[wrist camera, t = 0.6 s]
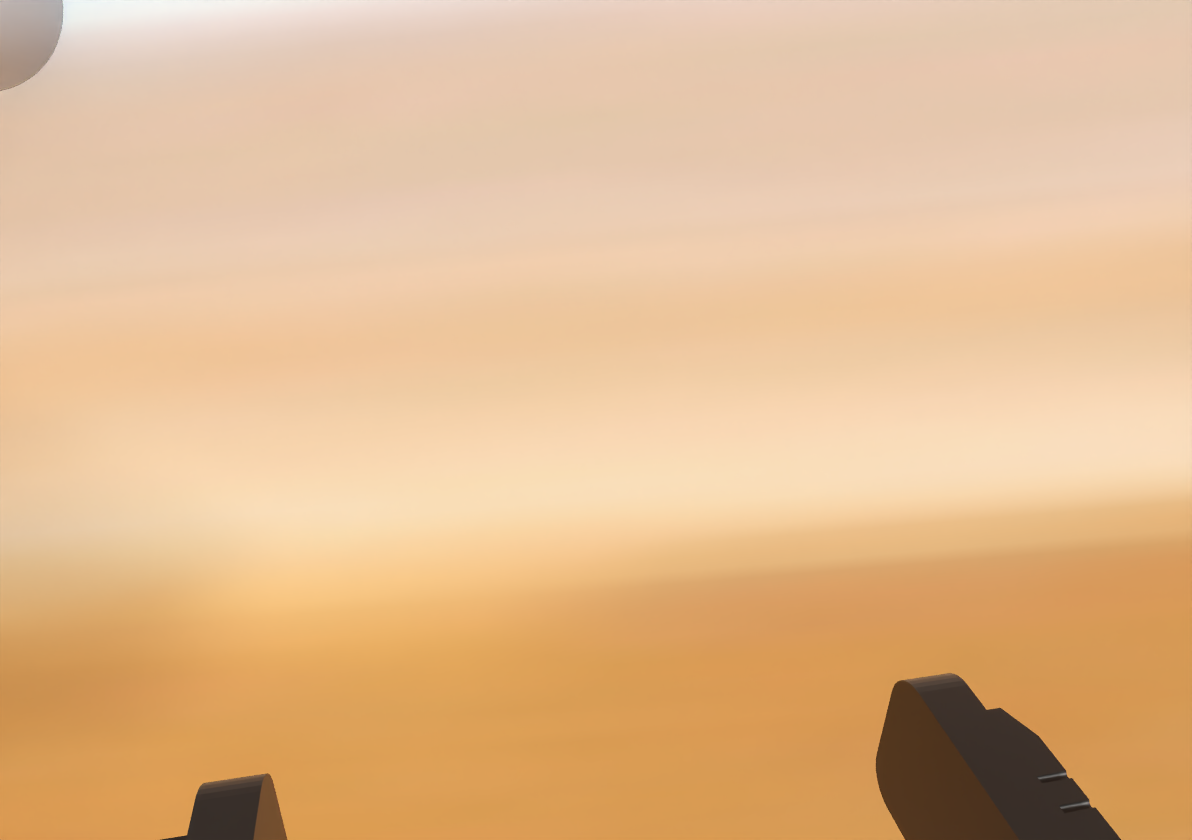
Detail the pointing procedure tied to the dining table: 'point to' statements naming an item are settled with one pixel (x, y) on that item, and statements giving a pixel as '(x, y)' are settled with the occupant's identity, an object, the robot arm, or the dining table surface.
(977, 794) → the robot arm
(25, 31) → the canister
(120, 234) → the dining table surface
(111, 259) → the dining table surface
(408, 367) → the dining table surface
